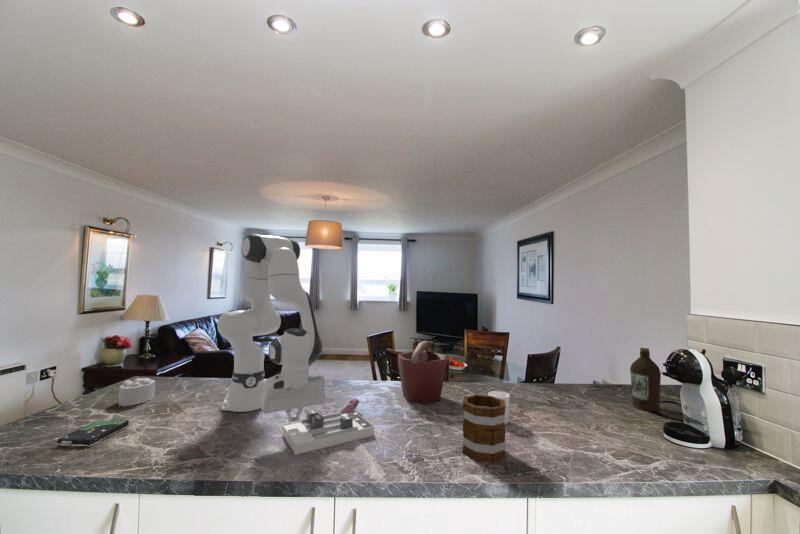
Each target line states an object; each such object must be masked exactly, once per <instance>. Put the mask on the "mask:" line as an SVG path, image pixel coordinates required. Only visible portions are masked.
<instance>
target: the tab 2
mask: <svg viewBox="0 0 800 534" xmlns="http://www.w3.org/2000/svg"><path fill="white" fill-rule="evenodd" d="M352 427H353V418H352V417H351V416H349V415H347V416H342V417H341V418H340V428H341V429H342V430H343V429H347V428H352Z"/></svg>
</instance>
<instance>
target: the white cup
mask: <svg viewBox="0 0 800 534" xmlns="http://www.w3.org/2000/svg"><path fill="white" fill-rule="evenodd" d="M487 396H493V397H496V398H499V399H501V400H504V401H505V406H506V408H505V425H508V424H509V415H510V401H511V400H510V399H511V396H510V393H507V392H504V391H500V390H499V391H498V390H492V391H491V390H490V391H489V392H487Z"/></svg>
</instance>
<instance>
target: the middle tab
mask: <svg viewBox="0 0 800 534" xmlns="http://www.w3.org/2000/svg"><path fill="white" fill-rule="evenodd" d="M322 415H323V414H322ZM322 415H321V414H319V415H315V416H312V425H311V427H312V428H313V429H317V428H322V427H323V425H324V417H323V416H322Z"/></svg>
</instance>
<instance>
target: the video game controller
mask: <svg viewBox="0 0 800 534" xmlns="http://www.w3.org/2000/svg"><path fill="white" fill-rule="evenodd" d="M359 403H360V400H359V399H357V398H356V397H355V398H351V399H349V401H348V403H347V404H346V406H345V407H344V408H343V409H342V410H340V411H339V412H341V414H346V413H351V412H356V411H355V410H356V408H357V406H358V405H359Z"/></svg>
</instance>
